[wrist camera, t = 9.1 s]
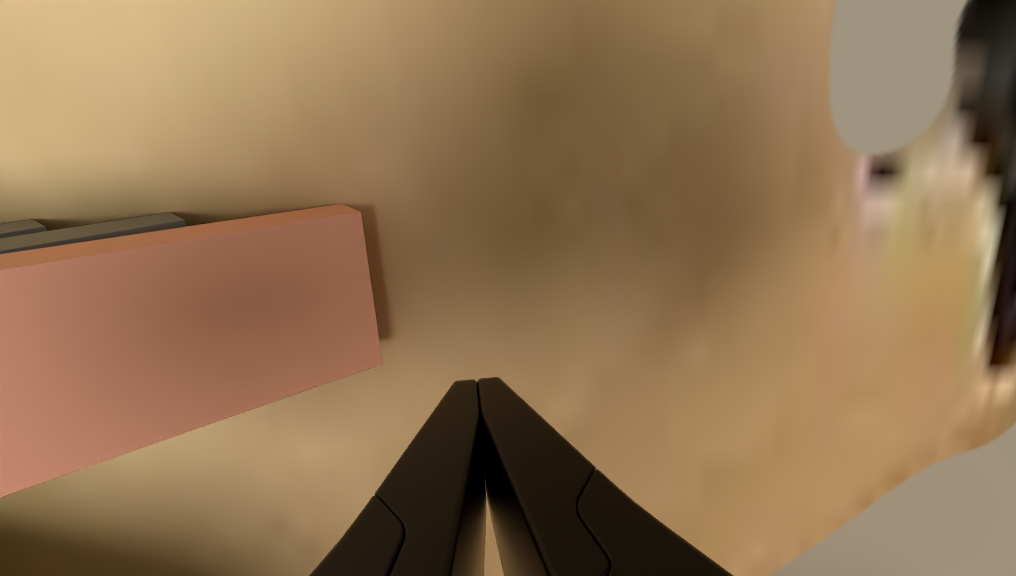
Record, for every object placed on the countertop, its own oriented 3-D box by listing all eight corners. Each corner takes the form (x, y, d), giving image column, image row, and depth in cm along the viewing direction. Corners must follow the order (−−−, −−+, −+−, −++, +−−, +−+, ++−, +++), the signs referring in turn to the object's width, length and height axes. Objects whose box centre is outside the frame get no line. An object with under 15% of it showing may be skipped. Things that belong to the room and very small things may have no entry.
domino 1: (360, 211, 14) (-202, 303, 8) (382, 363, 16) (-65, 519, 10) (341, 203, 15) (-161, 278, 9) (363, 345, 17) (-45, 476, 11)
